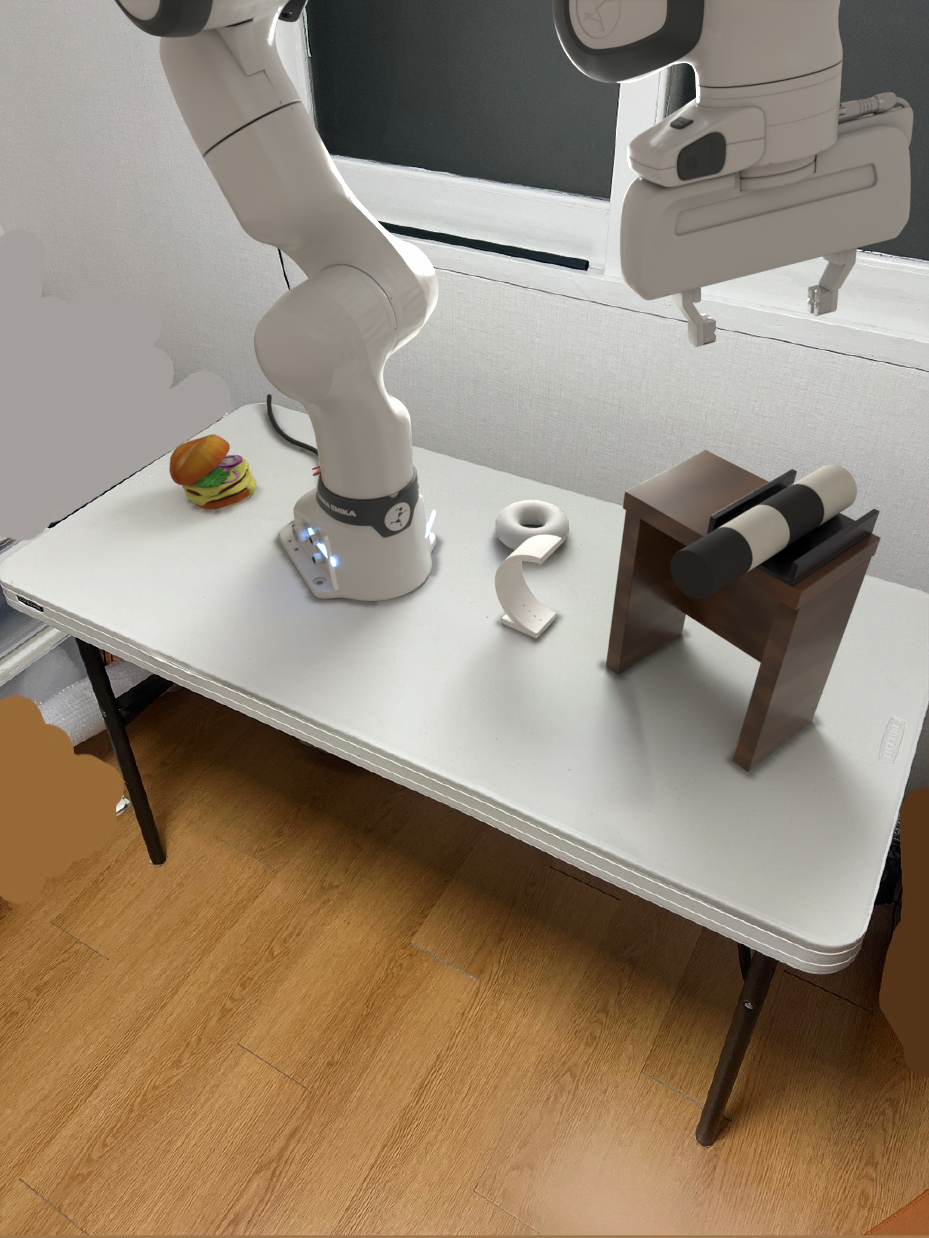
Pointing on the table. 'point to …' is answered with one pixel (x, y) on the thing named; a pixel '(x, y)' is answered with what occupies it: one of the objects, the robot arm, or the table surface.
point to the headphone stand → (524, 587)
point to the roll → (762, 531)
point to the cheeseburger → (211, 473)
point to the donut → (530, 522)
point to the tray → (809, 548)
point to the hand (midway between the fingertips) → (761, 327)
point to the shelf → (731, 600)
